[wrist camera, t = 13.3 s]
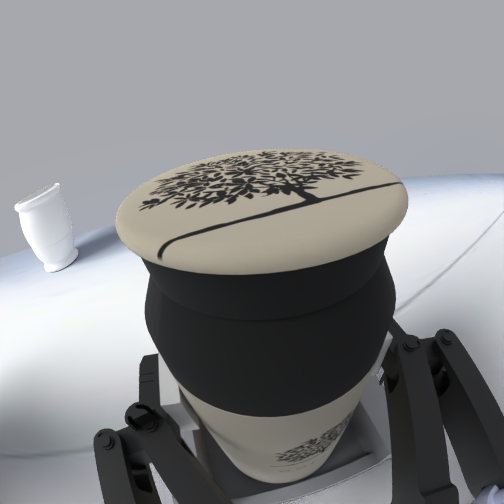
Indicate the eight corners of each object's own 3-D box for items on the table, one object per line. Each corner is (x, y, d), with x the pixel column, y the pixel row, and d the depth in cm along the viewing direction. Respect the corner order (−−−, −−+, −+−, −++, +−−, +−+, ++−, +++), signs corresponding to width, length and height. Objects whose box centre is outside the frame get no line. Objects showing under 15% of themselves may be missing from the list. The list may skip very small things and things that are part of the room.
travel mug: (216, 406, 19) (131, 172, 10) (311, 379, 20) (321, 140, 11) (239, 495, 12) (52, 311, 3) (351, 460, 13) (484, 209, 4)
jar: (86, 242, 51) (64, 178, 43) (79, 267, 42) (50, 191, 35) (48, 256, 48) (25, 195, 40) (36, 281, 40) (5, 212, 32)
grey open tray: (197, 517, 11) (152, 510, 7) (170, 289, 35) (153, 236, 31) (392, 456, 14) (438, 417, 10) (279, 265, 37) (276, 210, 33)
